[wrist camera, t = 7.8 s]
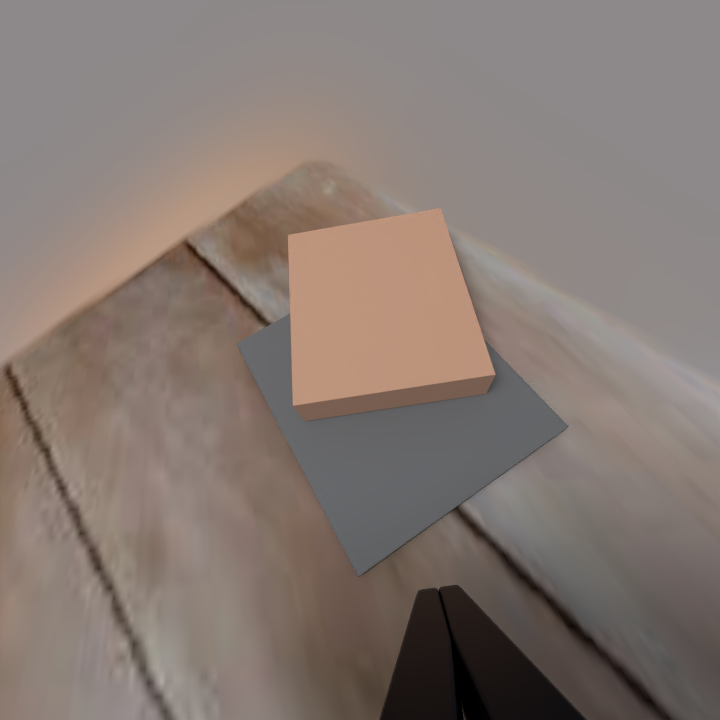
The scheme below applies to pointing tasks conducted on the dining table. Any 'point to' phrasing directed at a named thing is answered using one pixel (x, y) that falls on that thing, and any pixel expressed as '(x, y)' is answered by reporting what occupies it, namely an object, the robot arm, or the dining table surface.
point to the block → (381, 318)
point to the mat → (400, 449)
